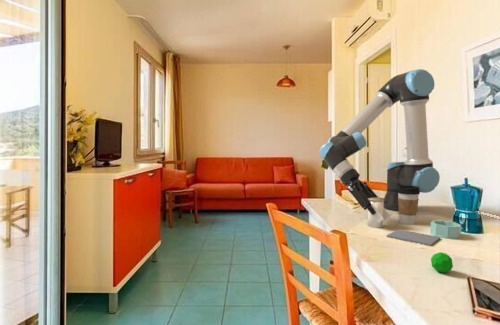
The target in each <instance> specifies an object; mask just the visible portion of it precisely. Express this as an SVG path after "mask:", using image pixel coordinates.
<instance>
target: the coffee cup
mask: <svg viewBox="0 0 500 325" xmlns="http://www.w3.org/2000/svg"><path fill="white" fill-rule="evenodd" d="M397 192H398V209H399V211H398V222H399V223H400V224H404V225H415V224H416V218H417V213H418V212H417V211H418V206H419V205H418V204H419V195H420V194H421V192H420V190H419V187H418V186H400V187H398V190H397Z"/></svg>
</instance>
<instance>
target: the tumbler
mask: <svg viewBox="0 0 500 325" xmlns="http://www.w3.org/2000/svg"><path fill="white" fill-rule="evenodd" d="M368 200H369V202H370V203H371V206H372V205H374V206H375V208H376V209H377V210H378V211H379V212H380V214H381V215H382V216H383V207H384V197H379V196H378V197H368ZM367 226H368V227H369V228H373V227H374V228H375V229H382V228H383V227H384V219H383V220H382V221H381V222H379V223H378V222H377V220H376V219H375V218H374V217H373V216H372V214H371V213H370V212H369V211H368V210H367ZM381 227H382V228H381Z"/></svg>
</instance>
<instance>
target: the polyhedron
mask: <svg viewBox="0 0 500 325" xmlns="http://www.w3.org/2000/svg"><path fill="white" fill-rule="evenodd" d="M430 263H431V267H432V268H433V269H434V270H435V271H437V272H438V273H440V274H441V273H442V274H445V273H447V272H450V271H451V270H452V269H453V268H454V263H453V259H452V257H451V256H450V255H449V254H447V253H445V252H437V253H434V254H432V256H431V258H430Z"/></svg>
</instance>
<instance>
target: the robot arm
mask: <svg viewBox="0 0 500 325" xmlns="http://www.w3.org/2000/svg"><path fill="white" fill-rule="evenodd" d="M434 89H435V78H434V76H433V75H432V74H431V73H430V72H429V71H428V70H426V69H422V68H421V69H420V68H419V69H413V70H412V69H411V70H410V71H406V72H404V73H400V74H398V75H395V76H392V78H391V79H389V80H388V81H386V83H385V84H383V86H382V87H380V89H379V90H378V91H377V92H376V93H375V96H374V97H373V98H372V100H370V102H369V103H368V104H366V105H365V107H364V108H363V109H361V110H360V112H358V113H357V114H356V115H355V116H354V117H353V118H352V119H351V121H350V122H348V123H347V124H346V125H345V126H344V128H342V129H341V130H340V131H339V132H338V133H337V134H336V135H334V136H331V137H330V138H329V139H328V140H327V142H326V143H324V144H323V145H322V146H321V147H320V148H319V151H318V153H319V155H320V157H321V159H322V160H323V161H324V162H325V163H326V164H327V166H328V167H329V169H330V170H332V172H333V173H334V175H335V176H336V177H338V179H340V180H339V181H340V182H341V183H342V184H343V186H345V187H346V190H347V191H348V192H349V193H350V194H351V195H352V196H353V198H354V199H355V200H356V202H357V203H358V204H359V205H360V207H361V208H362V209H363V211H366V210H367V212H368V211H369V212H370V213H371V214H372V216H373V217H374V218H375V219H376V220H377V222H378V223H379V222H381V221H382V220H383V221H384V220H385V221H386V220H388V219H389V218H390V217H391V214H390V212H388V210H390V211H398V212H399V209H398V192H397V190H398V187H400V186H418V187H419V190H420V193H423V194H424V193H425V194H426V193H427V194H428V193H431V192H432V191H434V190H435V188H437V186H438V185H439V183H440V178H441V177H440V176H441V175H440V173H439V171H438V170H437V169H436V168H435V167H434V161H433V160H432V159H431V158H429V143H428V127H427V126H428V124H427V109H426V104H427V103H428V102H429V101H430V94H431V93H432V91H434ZM397 102H399V104H400V105H402V106H403V111H404V126H405V128H404V129H405V140H406V144H405V145H406V158H407V159H406V160H404V161H394V162H393V161H392V162H389V163H388V164H387V167H386V168H387V169H386V192H385V195H384V197H383V198H384V207H383V216H382V215H381V214H380V212H379V211H378V210H377V209H376V208H375V206H374V205H372V206H371V203H370V202H369V200H368V197H379V196H378V195H377V193H375V192H374V190H372V188H371V187H370V186H369V184H368V183H367V182H365V181H363V182H362V181H361V180H360V179H359V178H360V176H361V175H360V173H359V172H358V170H357V169H355V168H354V165H353V164H351V162H350V161H349V160H348V158H349V157H351V156H352V155H354V154H356V153H357V152H359V151H361V150H362V149H364V148H365V147H366V146H367V141H366V137H365V136H364V135H363V134H362V133H363V132H364V131H365V130H366V129H367V128H369V126H370V125H371V124H372V123H373V122H374V121H375V120H376V119H377V118H378V117H379V116H380V115H381V114H383V113H384V111H385V110H386V109H388V108H391V107H392V106H394V104H396V103H397Z"/></svg>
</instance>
